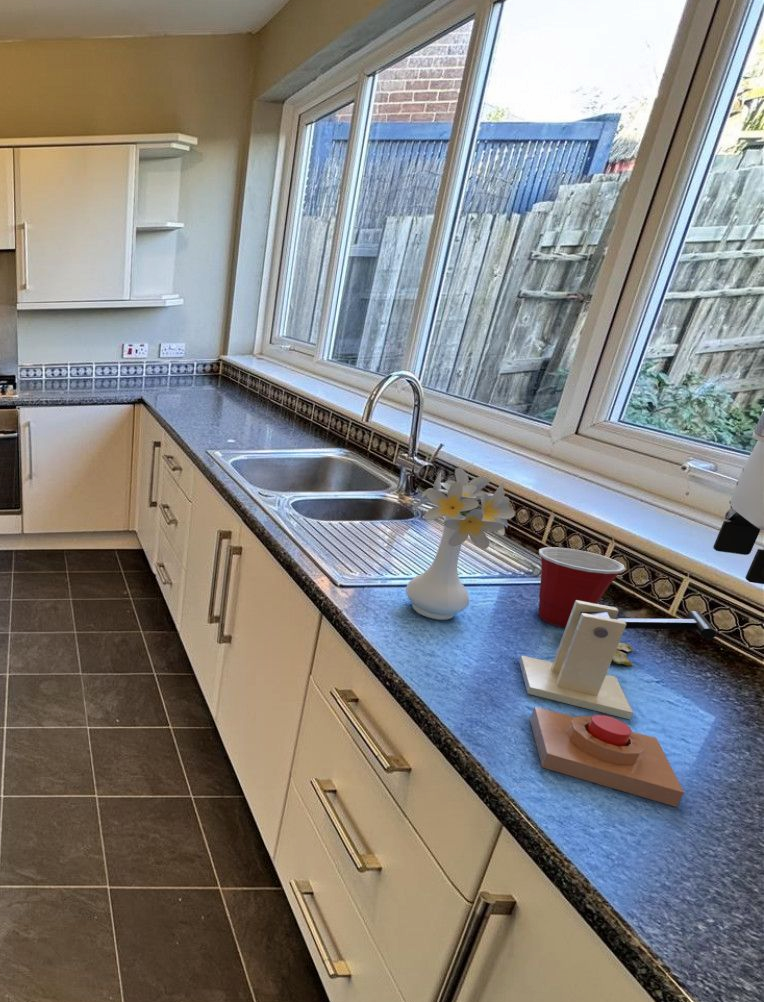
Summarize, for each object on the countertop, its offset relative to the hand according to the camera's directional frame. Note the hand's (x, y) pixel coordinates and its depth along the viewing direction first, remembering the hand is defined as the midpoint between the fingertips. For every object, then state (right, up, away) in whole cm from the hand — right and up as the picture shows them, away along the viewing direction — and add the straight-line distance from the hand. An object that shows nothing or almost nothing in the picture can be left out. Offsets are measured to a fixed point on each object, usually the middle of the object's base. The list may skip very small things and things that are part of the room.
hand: (746, 567), depth 75 cm
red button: (-17, -21, 0) cm, 27 cm away
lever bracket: (-9, -19, +14) cm, 25 cm away
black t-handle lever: (-5, -9, +7) cm, 13 cm away
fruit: (+3, -16, +22) cm, 27 cm away
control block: (-17, -24, +1) cm, 30 cm away
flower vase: (-15, -11, +33) cm, 38 cm away
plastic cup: (+5, -12, +31) cm, 33 cm away
